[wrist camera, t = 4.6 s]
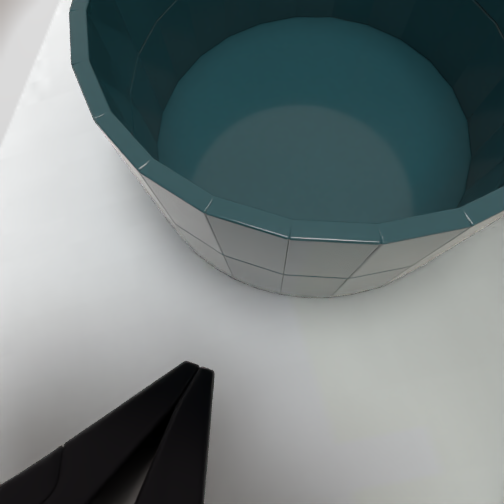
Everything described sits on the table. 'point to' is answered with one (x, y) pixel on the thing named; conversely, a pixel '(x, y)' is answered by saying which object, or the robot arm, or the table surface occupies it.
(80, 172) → the table surface
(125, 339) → the table surface
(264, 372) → the table surface
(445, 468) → the table surface
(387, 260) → the bowl
